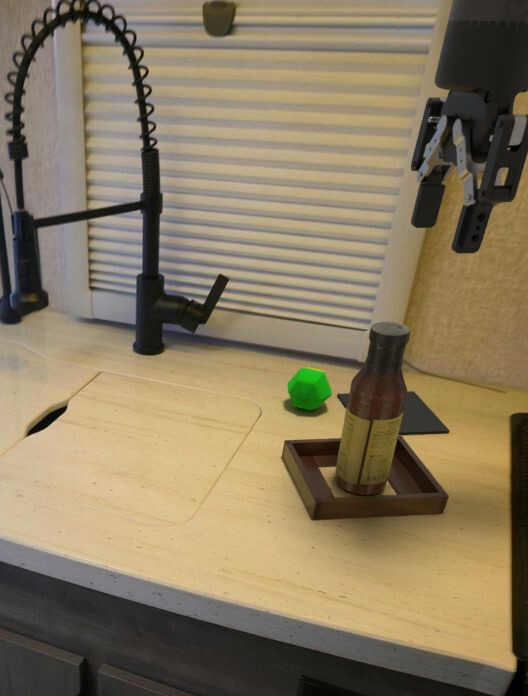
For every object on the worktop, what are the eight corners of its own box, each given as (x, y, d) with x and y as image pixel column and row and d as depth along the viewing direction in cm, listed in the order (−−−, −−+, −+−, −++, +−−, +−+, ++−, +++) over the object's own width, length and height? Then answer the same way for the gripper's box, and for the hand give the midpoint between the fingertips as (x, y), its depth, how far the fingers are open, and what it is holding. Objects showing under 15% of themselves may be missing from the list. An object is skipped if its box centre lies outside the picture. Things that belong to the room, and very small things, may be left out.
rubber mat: (413, 393, 101) (413, 391, 101) (449, 433, 92) (449, 430, 92) (336, 396, 100) (337, 393, 100) (365, 436, 91) (365, 433, 91)
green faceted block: (309, 368, 91) (327, 344, 97) (271, 388, 95) (291, 364, 101) (335, 411, 92) (351, 385, 99) (298, 429, 97) (315, 402, 103)
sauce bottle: (388, 476, 83) (431, 322, 71) (380, 503, 78) (425, 343, 66) (336, 464, 85) (369, 313, 73) (325, 489, 81) (358, 332, 69)
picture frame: (396, 451, 88) (401, 435, 86) (443, 513, 77) (449, 496, 75) (281, 456, 87) (284, 439, 85) (312, 519, 76) (315, 502, 74)
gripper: (608, 17, 45) (523, 262, 55) (500, 16, 56) (446, 219, 66) (502, 16, 45) (436, 263, 54) (415, 15, 56) (373, 219, 66)
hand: (441, 238), depth 60 cm, fingers open, 8 cm apart
